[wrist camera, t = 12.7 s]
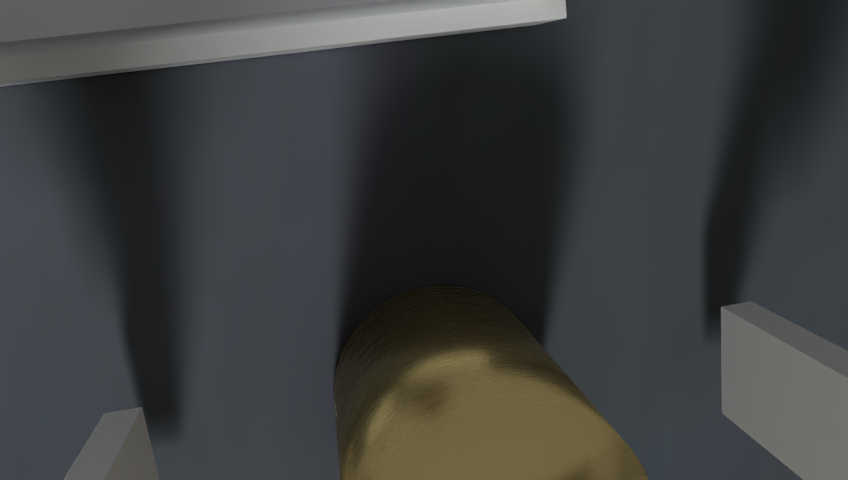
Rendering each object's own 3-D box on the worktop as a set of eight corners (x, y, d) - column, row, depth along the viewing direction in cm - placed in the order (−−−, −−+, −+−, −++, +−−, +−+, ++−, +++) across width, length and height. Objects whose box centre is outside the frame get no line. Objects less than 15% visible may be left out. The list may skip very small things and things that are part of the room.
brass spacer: (349, 495, 17) (371, 716, 11) (318, 303, 16) (324, 439, 10) (545, 456, 18) (662, 646, 12) (529, 269, 16) (653, 377, 10)
